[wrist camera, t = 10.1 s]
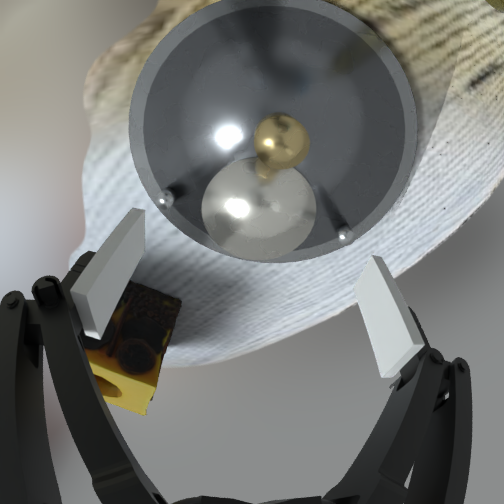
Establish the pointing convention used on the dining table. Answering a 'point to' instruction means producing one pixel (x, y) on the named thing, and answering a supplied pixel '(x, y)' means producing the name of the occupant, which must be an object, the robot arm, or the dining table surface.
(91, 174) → the dining table surface
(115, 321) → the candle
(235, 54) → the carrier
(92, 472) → the robot arm
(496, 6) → the gold pawn
